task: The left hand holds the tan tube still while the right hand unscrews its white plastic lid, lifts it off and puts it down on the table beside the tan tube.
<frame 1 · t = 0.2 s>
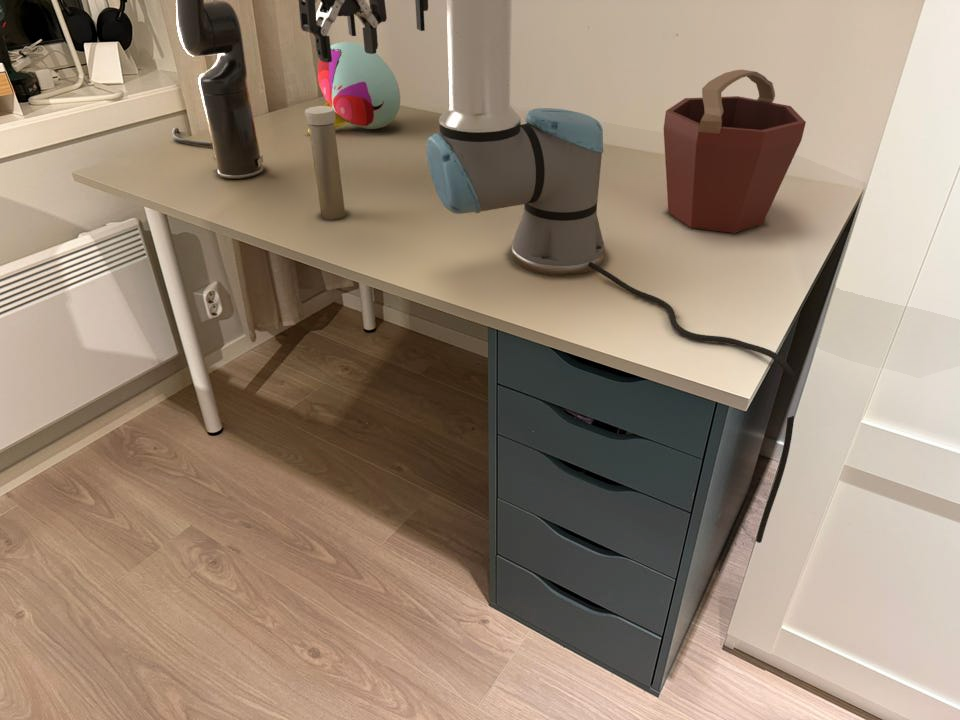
left hand: (348, 57, 110), 29 cm above the table, tool pointing down, fingers open, 8 cm apart
right hand: (387, 32, 136), 28 cm above the table, tool pointing down, fingers open, 13 cm apart
bucket: (711, 214, 132), on the table
beverage cup: (497, 175, 150), on the table
tan tube: (333, 215, 133), on the table
toy: (354, 128, 180), on the table
lid: (319, 111, 122), point 19 cm above the table, screwed on, not yet turned
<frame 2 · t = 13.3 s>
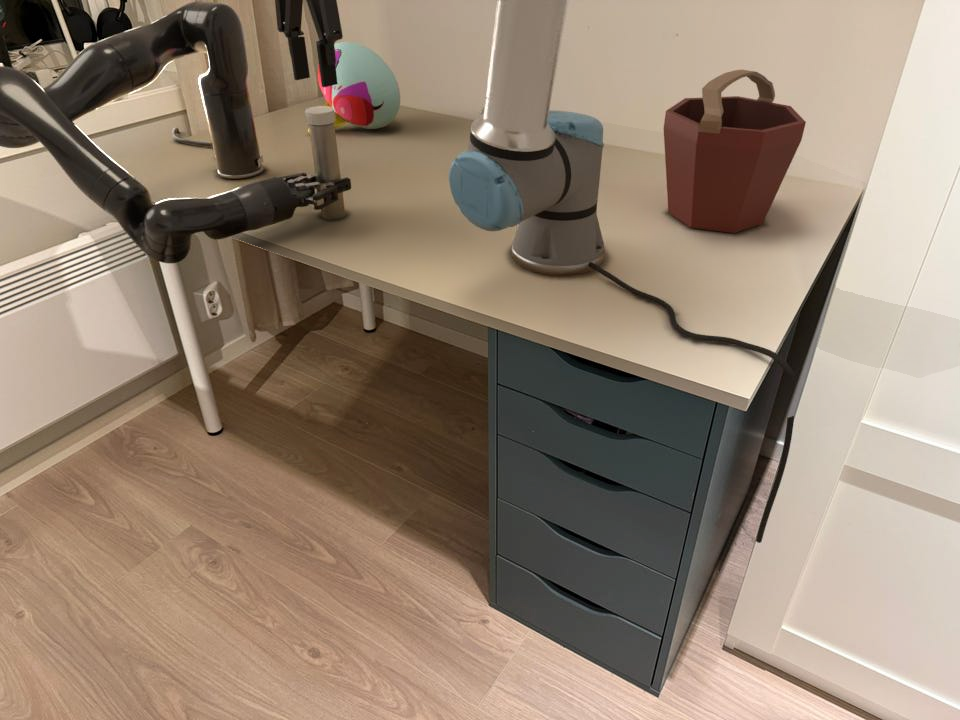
left hand: (341, 179, 131), 6 cm above the table, tool horizontal, fingers closed on tan tube, 4 cm apart
right hand: (315, 81, 119), 24 cm above the table, tool pointing down, fingers open, 7 cm apart
tan tube: (333, 215, 133), on the table, touching left hand
everything else where it was.
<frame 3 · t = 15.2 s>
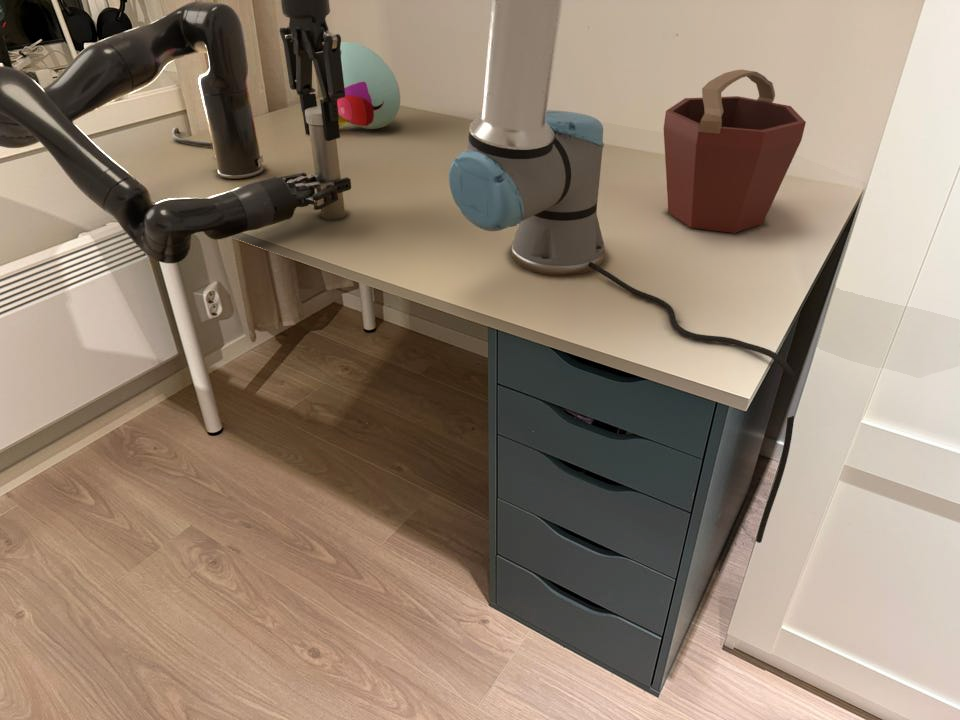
left hand: (341, 179, 131), 6 cm above the table, tool horizontal, fingers closed on tan tube, 4 cm apart
right hand: (322, 135, 125), 15 cm above the table, tool pointing down, fingers closed on lid, 5 cm apart
tan tube: (333, 215, 133), on the table, touching left hand
lid: (319, 111, 122), point 19 cm above the table, screwed on, not yet turned, touching right hand
everything else where it was.
when the right hand's fingers open (0 cm above the table, at t = 25.4 s): lid drops 3 cm, point 2 cm above the table.
when the left hand's fingers open (6 cm above the table, at t = 26.0 s): tan tube stays where it is, on the table.
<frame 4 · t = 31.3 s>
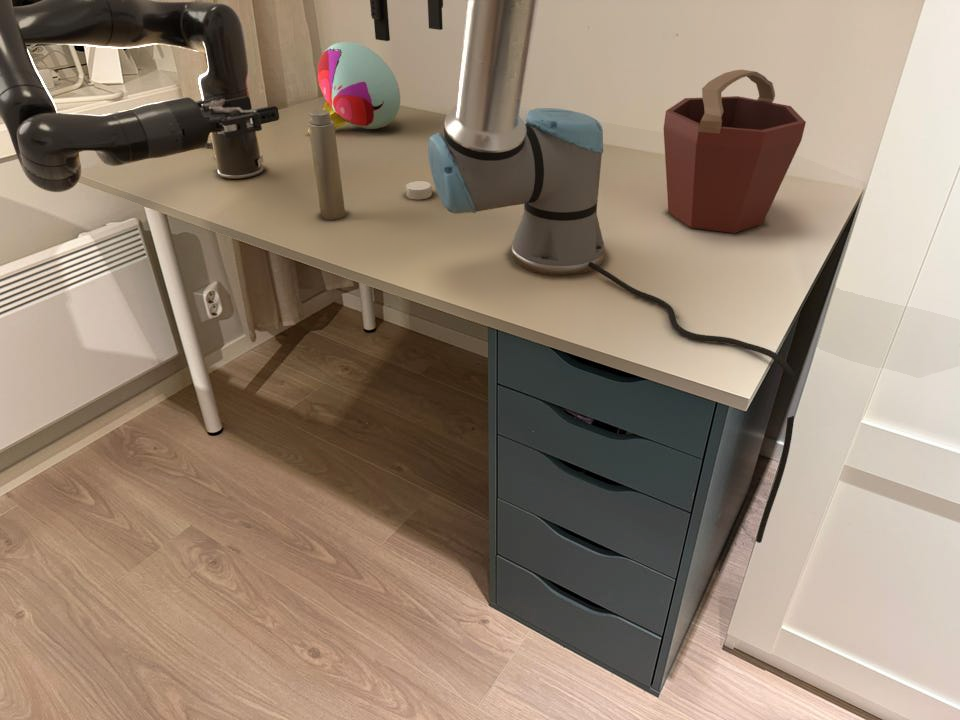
left hand: (263, 107, 115), 22 cm above the table, tool horizontal, fingers open, 8 cm apart
right hand: (410, 34, 124), 30 cm above the table, tool pointing down, fingers open, 13 cm apart
tan tube: (333, 215, 133), on the table
lid: (418, 187, 140), point 2 cm above the table, off its thread
everything else where it was.
at the end: lid came off its thread; lid point 1.7 cm above the table; the left hand is holding nothing; the right hand is holding nothing; tan tube tilted 0°; tan tube moved 0.0 cm from its start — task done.
